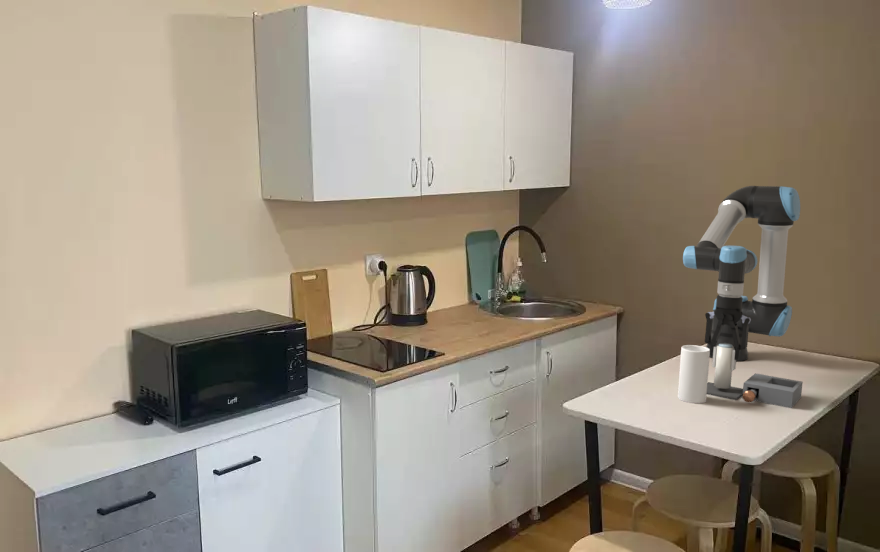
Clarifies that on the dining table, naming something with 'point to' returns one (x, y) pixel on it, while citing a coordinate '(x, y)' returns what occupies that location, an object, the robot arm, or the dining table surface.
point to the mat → (724, 391)
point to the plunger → (750, 395)
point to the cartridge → (723, 366)
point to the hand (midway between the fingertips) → (723, 367)
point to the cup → (693, 373)
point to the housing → (774, 390)
